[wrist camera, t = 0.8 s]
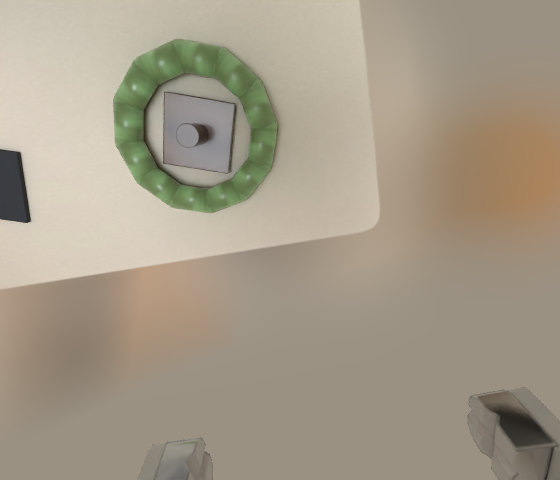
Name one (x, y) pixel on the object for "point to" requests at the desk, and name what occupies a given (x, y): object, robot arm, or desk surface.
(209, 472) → the robot arm
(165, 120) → the stand
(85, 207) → the desk surface
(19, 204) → the mat
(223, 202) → the ring
